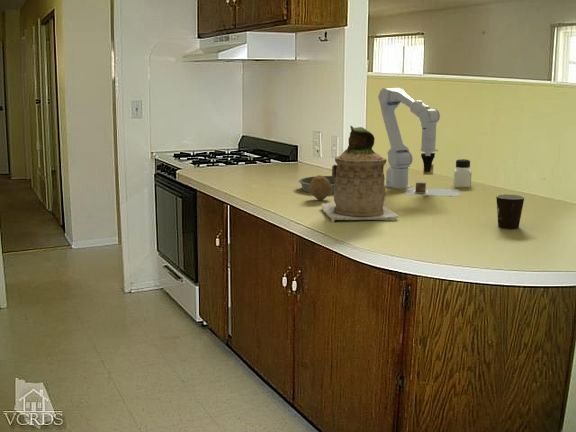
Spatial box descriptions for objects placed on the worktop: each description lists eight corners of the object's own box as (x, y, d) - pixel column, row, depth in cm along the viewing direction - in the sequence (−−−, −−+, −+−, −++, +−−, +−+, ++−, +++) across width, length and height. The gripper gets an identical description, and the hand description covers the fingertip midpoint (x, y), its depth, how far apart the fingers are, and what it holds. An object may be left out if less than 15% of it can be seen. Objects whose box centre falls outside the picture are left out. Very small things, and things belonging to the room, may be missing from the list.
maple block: (423, 174, 269) (423, 165, 268) (423, 173, 273) (423, 163, 272) (433, 174, 268) (433, 165, 267) (433, 173, 272) (433, 163, 271)
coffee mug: (499, 222, 216) (500, 193, 214) (525, 225, 212) (527, 195, 209) (488, 229, 207) (489, 199, 205) (515, 233, 202) (517, 201, 200)
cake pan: (308, 184, 299) (308, 174, 298) (360, 186, 291) (360, 176, 290) (291, 193, 276) (290, 183, 275) (346, 196, 268) (346, 185, 267)
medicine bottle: (470, 187, 283) (472, 160, 281) (454, 187, 285) (455, 160, 282) (469, 185, 290) (470, 158, 287) (453, 184, 291) (454, 158, 289)
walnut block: (415, 192, 271) (415, 183, 270) (415, 190, 275) (416, 181, 274) (425, 192, 270) (425, 183, 270) (425, 191, 274) (425, 181, 273)
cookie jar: (400, 221, 221) (402, 127, 214) (329, 223, 219) (329, 128, 212) (384, 206, 245) (386, 122, 238) (320, 208, 243) (320, 123, 236)
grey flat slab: (405, 195, 267) (405, 194, 266) (407, 189, 282) (407, 187, 282) (460, 197, 262) (460, 196, 262) (459, 190, 277) (459, 189, 277)
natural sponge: (304, 199, 260) (303, 175, 258) (320, 196, 266) (320, 173, 264) (318, 202, 253) (318, 177, 251) (335, 200, 259) (335, 175, 256)
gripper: (438, 140, 260) (437, 173, 263) (438, 136, 273) (437, 168, 276) (420, 140, 261) (419, 173, 264) (421, 136, 275) (420, 168, 278)
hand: (427, 170), depth 270 cm, fingers closed on maple block, 4 cm apart
